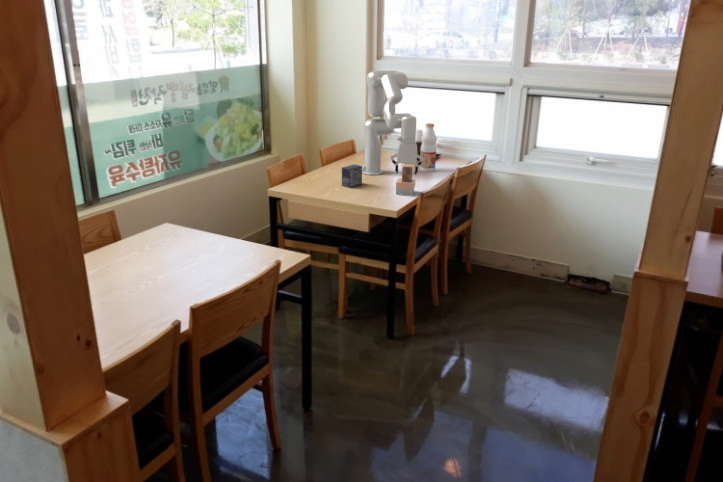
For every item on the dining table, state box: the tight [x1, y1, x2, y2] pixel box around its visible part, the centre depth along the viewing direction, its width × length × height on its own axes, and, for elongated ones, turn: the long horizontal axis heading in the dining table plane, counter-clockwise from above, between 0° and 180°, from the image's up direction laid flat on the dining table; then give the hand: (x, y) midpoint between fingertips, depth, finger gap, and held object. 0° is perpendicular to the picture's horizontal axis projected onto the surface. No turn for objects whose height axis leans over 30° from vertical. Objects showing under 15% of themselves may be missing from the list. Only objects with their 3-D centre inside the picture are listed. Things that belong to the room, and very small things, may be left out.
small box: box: [341, 164, 363, 189], centre depth 323 cm, size 11×6×10 cm, turn 141°
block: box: [401, 165, 413, 182], centre depth 309 cm, size 5×5×7 cm
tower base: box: [395, 188, 415, 196], centre depth 312 cm, size 9×9×4 cm
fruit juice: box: [419, 123, 437, 173], centre depth 356 cm, size 9×9×28 cm
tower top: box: [395, 177, 417, 190], centre depth 311 cm, size 9×9×4 cm
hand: (406, 173), depth 309 cm, fingers open, 9 cm apart
